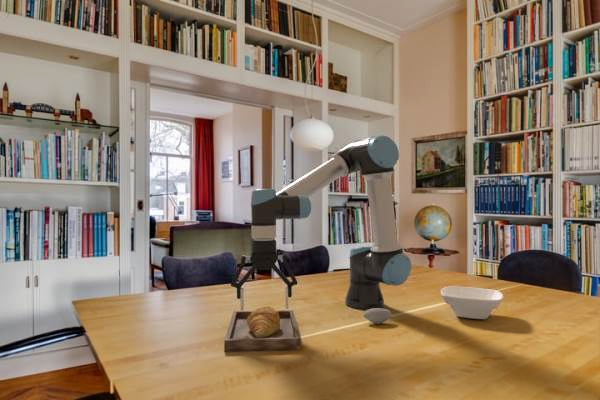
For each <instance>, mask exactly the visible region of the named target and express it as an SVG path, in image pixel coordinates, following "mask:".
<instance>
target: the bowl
mask: <svg viewBox="0 0 600 400" xmlns="http://www.w3.org/2000/svg"><path fill="white" fill-rule="evenodd" d="M440 295H441V297H442V299H443V301H444V303H446V304H447V305H449V306H450V309H452V312H453V313H454V315H455V316H456V317H460V318H466V319H474V320H487V319H488V317H489V316H490V315H491V314H492V312H493V310H495V309H498V308H499V306H500V304H501V303H502V302H503V300H504V295H503V293H502V292H501V291H499V290H496V289H490V288H481V287H473V286H472V287H469V286H455V285H454V286H452V285H448V286H444V287H443V288H441V290H440Z"/></svg>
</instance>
